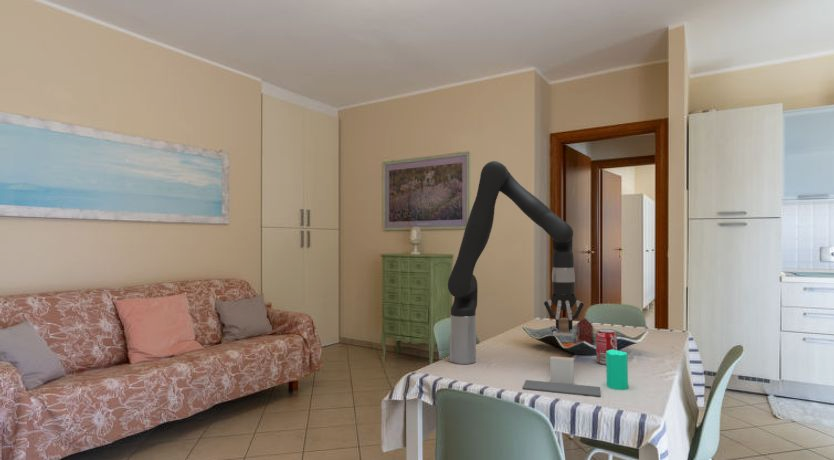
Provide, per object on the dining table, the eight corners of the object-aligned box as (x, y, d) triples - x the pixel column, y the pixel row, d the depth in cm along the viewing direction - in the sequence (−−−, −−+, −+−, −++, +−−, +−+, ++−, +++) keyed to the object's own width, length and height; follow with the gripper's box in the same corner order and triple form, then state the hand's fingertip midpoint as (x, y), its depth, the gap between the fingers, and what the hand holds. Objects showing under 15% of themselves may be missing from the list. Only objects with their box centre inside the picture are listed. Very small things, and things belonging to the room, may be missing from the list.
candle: (603, 383, 146) (602, 345, 146) (621, 383, 147) (620, 344, 147) (612, 390, 140) (612, 349, 140) (631, 389, 141) (631, 349, 141)
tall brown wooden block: (556, 330, 170) (556, 317, 171) (574, 331, 168) (573, 318, 169) (552, 334, 153) (552, 320, 153) (572, 335, 151) (571, 321, 151)
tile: (550, 383, 147) (550, 357, 147) (551, 381, 149) (550, 356, 149) (574, 385, 145) (573, 359, 145) (574, 383, 147) (573, 357, 147)
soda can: (616, 361, 172) (616, 329, 173) (618, 366, 166) (617, 332, 166) (596, 360, 175) (595, 327, 175) (596, 365, 168) (596, 331, 168)
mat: (522, 389, 141) (522, 387, 141) (525, 381, 149) (525, 379, 149) (600, 397, 134) (600, 395, 134) (600, 388, 141) (600, 386, 142)
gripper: (541, 281, 162) (542, 331, 161) (584, 281, 157) (585, 333, 156) (543, 279, 169) (544, 327, 168) (584, 280, 164) (585, 329, 163)
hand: (564, 330), depth 162 cm, fingers closed on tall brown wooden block, 2 cm apart
